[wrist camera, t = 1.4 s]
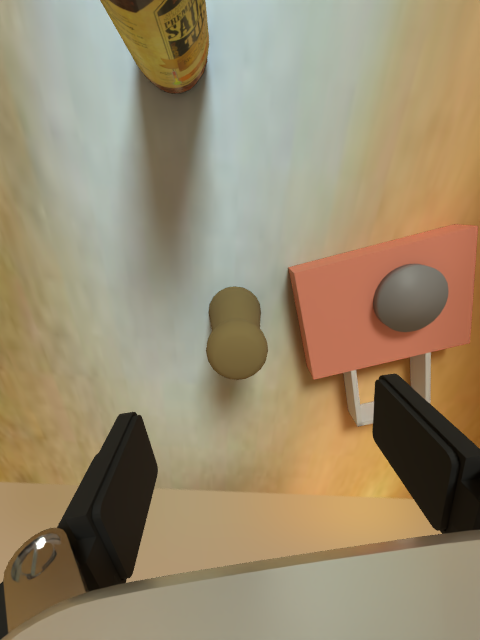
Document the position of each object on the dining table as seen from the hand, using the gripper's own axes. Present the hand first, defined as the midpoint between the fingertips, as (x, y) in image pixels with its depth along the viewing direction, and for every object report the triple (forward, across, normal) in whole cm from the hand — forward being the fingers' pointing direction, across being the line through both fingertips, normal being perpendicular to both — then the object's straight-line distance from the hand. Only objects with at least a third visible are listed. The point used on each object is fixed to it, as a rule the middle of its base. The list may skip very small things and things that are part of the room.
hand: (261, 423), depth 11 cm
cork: (+22, 0, +3) cm, 22 cm away
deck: (+21, -16, +8) cm, 28 cm away
